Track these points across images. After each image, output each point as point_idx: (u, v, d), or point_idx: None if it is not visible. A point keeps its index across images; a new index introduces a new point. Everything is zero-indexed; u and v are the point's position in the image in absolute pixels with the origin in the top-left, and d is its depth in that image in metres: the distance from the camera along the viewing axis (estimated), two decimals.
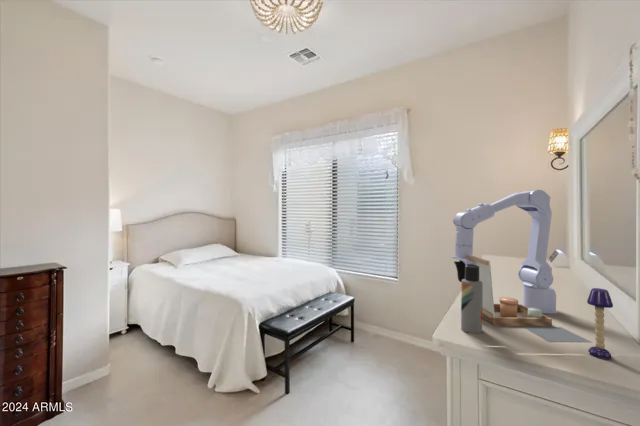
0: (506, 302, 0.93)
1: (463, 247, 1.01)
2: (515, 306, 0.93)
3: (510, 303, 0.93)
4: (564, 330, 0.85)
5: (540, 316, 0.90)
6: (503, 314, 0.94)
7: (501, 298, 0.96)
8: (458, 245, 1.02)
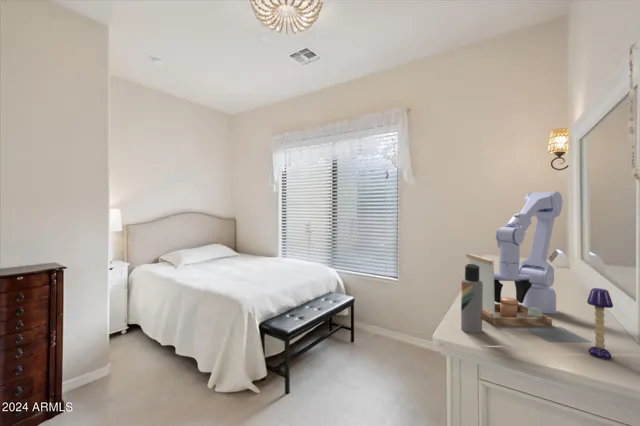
0: (506, 302, 0.93)
1: (499, 263, 0.96)
2: (515, 306, 0.93)
3: (510, 303, 0.93)
4: (564, 330, 0.85)
5: (540, 316, 0.90)
6: (503, 314, 0.94)
7: (501, 298, 0.96)
8: None
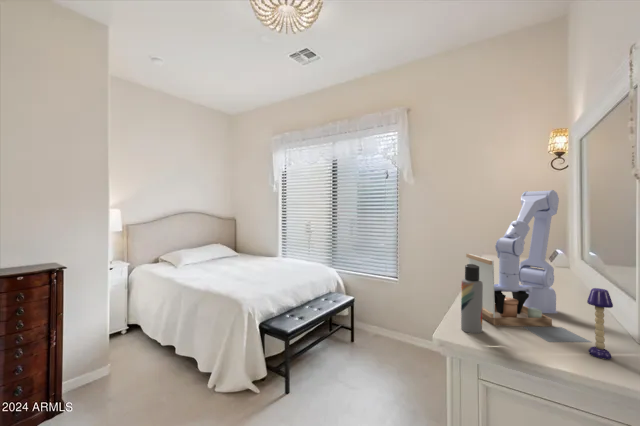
0: (506, 302, 0.93)
1: (499, 274, 0.96)
2: (515, 306, 0.93)
3: (510, 303, 0.93)
4: (564, 330, 0.85)
5: (540, 316, 0.90)
6: (503, 314, 0.94)
7: None
8: None
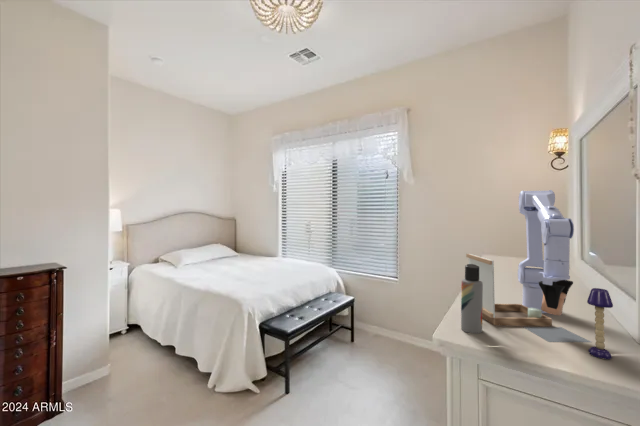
0: (560, 296, 0.80)
1: (549, 262, 0.81)
2: None
3: (563, 297, 0.80)
4: (564, 330, 0.85)
5: (540, 316, 0.90)
6: (553, 310, 0.81)
7: None
8: (544, 259, 0.83)
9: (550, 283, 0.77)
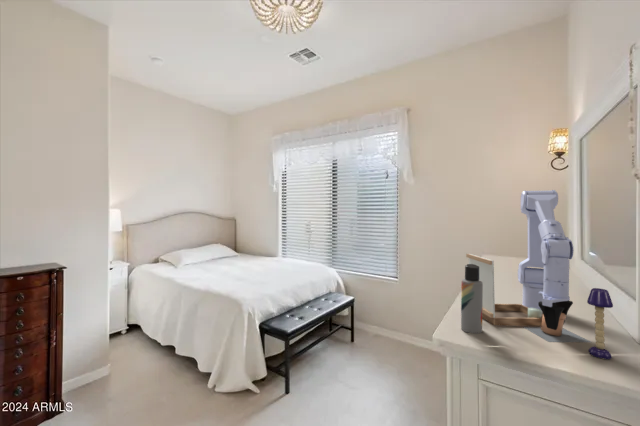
0: None
1: (549, 282, 0.81)
2: (563, 320, 0.81)
3: (563, 318, 0.80)
4: (564, 330, 0.85)
5: (540, 316, 0.90)
6: (553, 331, 0.81)
7: None
8: (544, 279, 0.83)
9: (550, 305, 0.77)
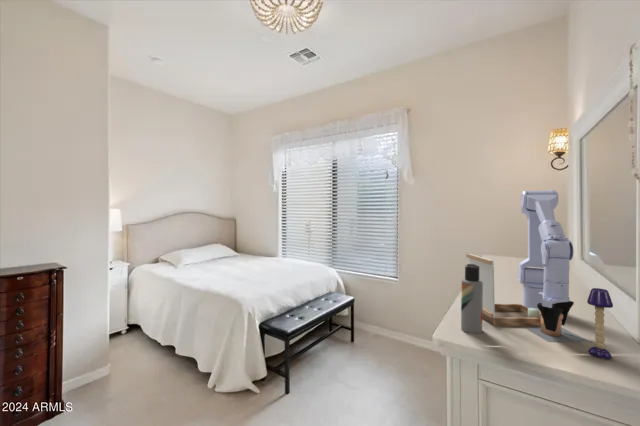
0: None
1: (549, 283, 0.81)
2: (561, 320, 0.82)
3: (560, 318, 0.80)
4: (564, 330, 0.85)
5: (540, 316, 0.90)
6: (552, 331, 0.81)
7: None
8: (544, 280, 0.83)
9: (550, 306, 0.77)
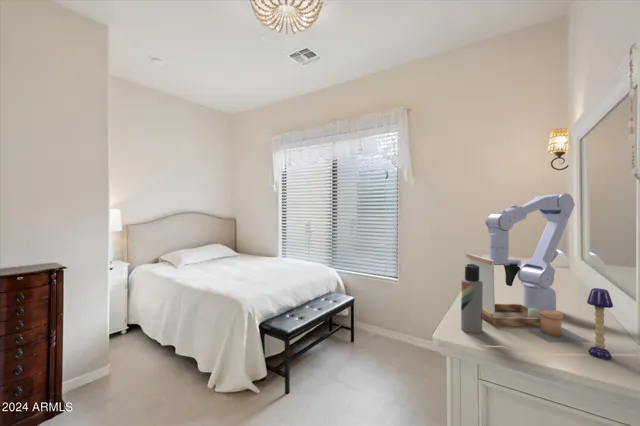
0: (556, 317, 0.80)
1: None
2: (561, 320, 0.82)
3: (560, 317, 0.80)
4: (564, 330, 0.85)
5: (540, 316, 0.90)
6: (552, 331, 0.81)
7: (544, 312, 0.83)
8: None
9: None
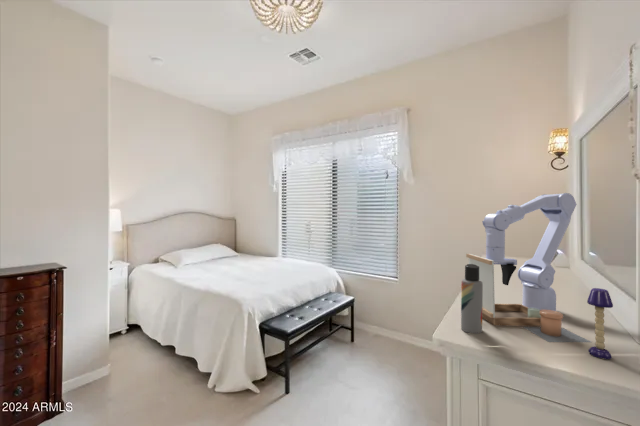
0: (556, 317, 0.80)
1: (486, 248, 1.02)
2: (561, 320, 0.82)
3: (560, 318, 0.80)
4: (564, 330, 0.85)
5: (540, 316, 0.90)
6: (552, 331, 0.81)
7: (544, 312, 0.83)
8: None
9: None
